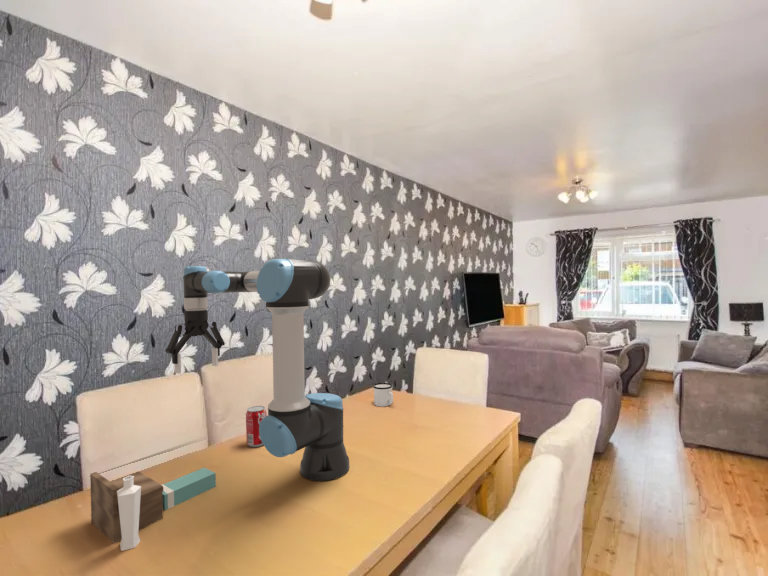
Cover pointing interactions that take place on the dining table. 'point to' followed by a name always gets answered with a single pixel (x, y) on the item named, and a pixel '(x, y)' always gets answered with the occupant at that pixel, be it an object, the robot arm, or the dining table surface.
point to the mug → (383, 394)
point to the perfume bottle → (129, 513)
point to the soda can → (254, 425)
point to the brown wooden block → (108, 509)
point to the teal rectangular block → (187, 487)
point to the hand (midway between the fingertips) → (197, 369)
